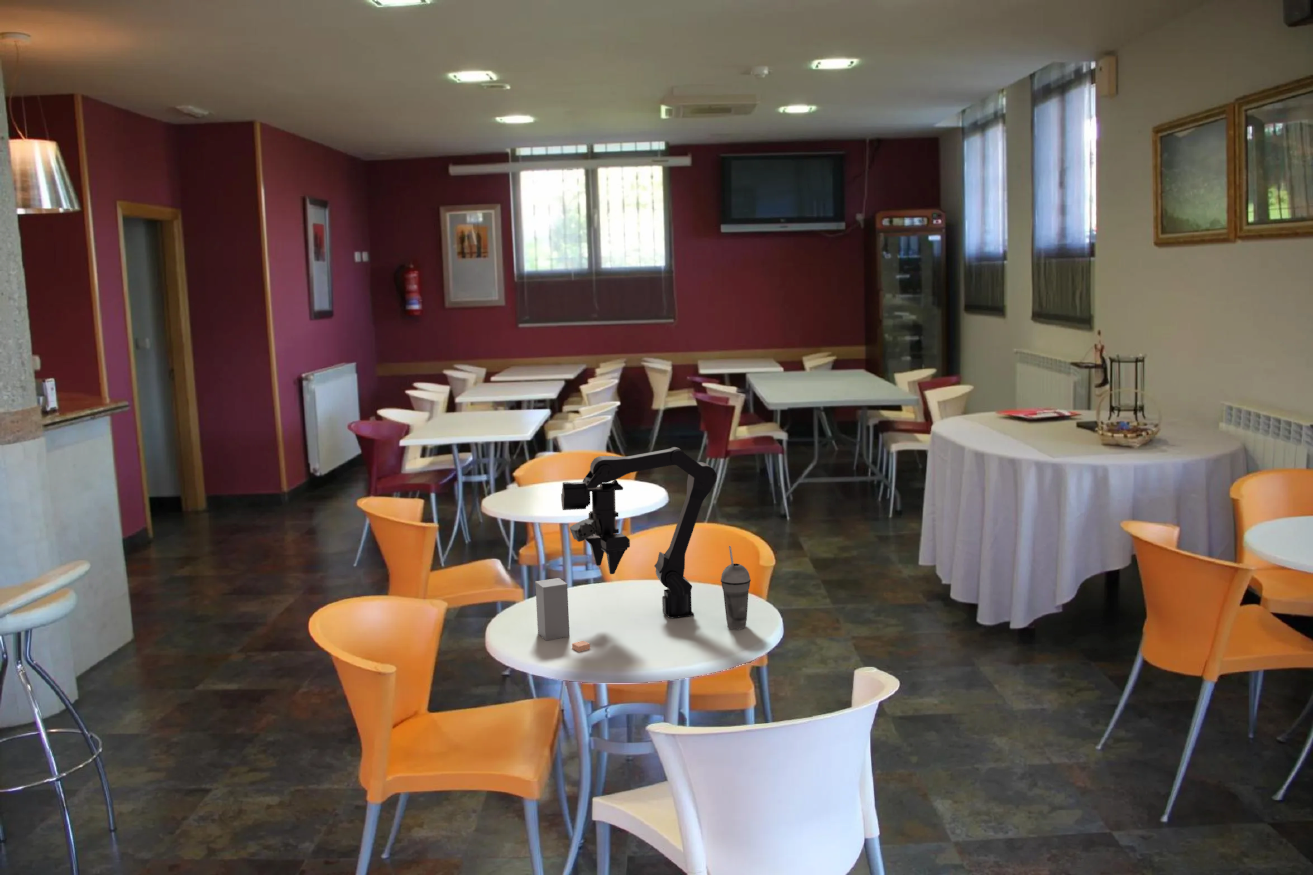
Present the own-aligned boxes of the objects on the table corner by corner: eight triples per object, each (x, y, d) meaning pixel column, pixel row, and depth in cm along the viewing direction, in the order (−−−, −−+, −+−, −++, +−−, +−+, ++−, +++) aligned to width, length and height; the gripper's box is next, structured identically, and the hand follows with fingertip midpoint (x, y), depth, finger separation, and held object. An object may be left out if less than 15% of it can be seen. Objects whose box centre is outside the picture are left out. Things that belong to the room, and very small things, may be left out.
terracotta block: (583, 646, 253) (583, 640, 252) (590, 649, 250) (589, 643, 250) (572, 649, 251) (572, 643, 251) (578, 652, 248) (578, 646, 248)
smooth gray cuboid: (561, 629, 265) (558, 577, 263) (569, 636, 259) (567, 583, 257) (537, 633, 262) (535, 581, 260) (545, 640, 257) (543, 587, 255)
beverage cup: (749, 631, 258) (748, 550, 256) (719, 630, 260) (717, 549, 257) (753, 622, 266) (751, 542, 263) (723, 621, 267) (721, 542, 264)
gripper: (560, 504, 272) (561, 564, 274) (586, 518, 255) (588, 582, 257) (601, 500, 276) (602, 559, 278) (630, 513, 259) (631, 576, 262)
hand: (605, 569), depth 269 cm, fingers open, 9 cm apart
